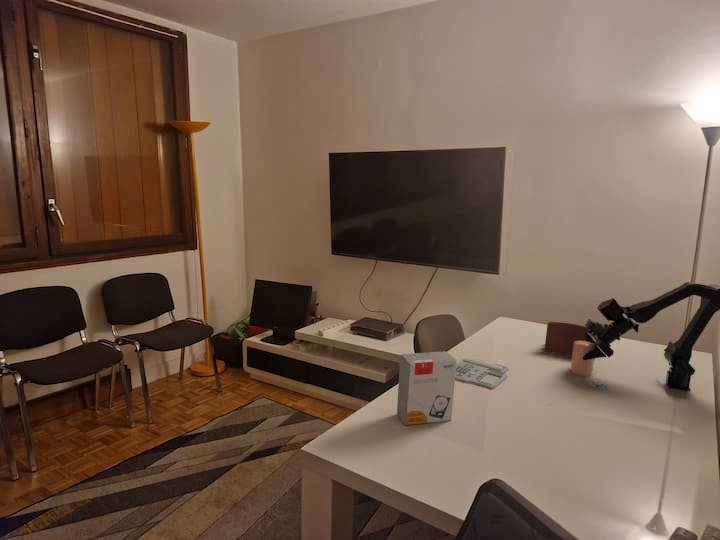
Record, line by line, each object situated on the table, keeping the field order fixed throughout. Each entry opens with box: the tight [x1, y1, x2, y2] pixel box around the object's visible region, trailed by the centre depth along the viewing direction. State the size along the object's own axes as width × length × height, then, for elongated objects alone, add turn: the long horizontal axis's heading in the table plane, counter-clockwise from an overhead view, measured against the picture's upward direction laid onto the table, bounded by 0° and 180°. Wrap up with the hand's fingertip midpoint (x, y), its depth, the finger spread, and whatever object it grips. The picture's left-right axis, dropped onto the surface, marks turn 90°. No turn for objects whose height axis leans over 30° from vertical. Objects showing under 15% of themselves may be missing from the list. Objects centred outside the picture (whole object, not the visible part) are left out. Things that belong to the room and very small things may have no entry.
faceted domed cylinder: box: [570, 341, 595, 377], centre depth 180 cm, size 7×7×12 cm
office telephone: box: [455, 356, 510, 390], centre depth 181 cm, size 23×3×20 cm
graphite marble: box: [588, 381, 599, 389], centre depth 168 cm, size 3×3×3 cm
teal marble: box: [597, 382, 609, 390], centre depth 167 cm, size 3×3×3 cm
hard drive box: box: [396, 351, 458, 426], centre depth 144 cm, size 16×8×20 cm, turn 105°
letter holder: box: [543, 321, 598, 361], centre depth 203 cm, size 10×20×14 cm, turn 59°
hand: (580, 354), depth 180 cm, fingers open, 9 cm apart
